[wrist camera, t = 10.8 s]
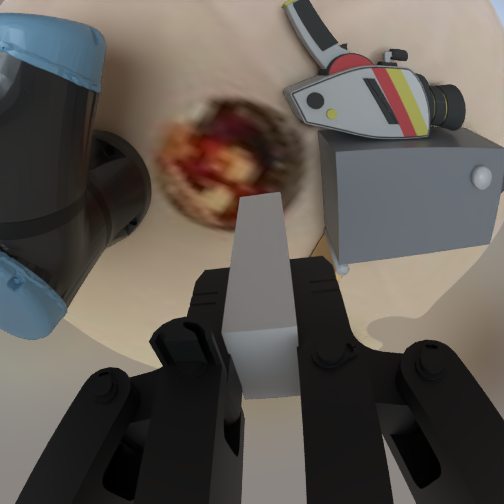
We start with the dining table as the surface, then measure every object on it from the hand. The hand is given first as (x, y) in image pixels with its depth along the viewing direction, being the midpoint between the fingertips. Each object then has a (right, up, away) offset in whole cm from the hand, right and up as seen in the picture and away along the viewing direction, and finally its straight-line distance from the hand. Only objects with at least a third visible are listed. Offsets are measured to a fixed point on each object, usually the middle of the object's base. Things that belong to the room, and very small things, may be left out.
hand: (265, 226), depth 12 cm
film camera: (+12, +20, +16) cm, 28 cm away
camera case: (+19, +9, +23) cm, 31 cm away
